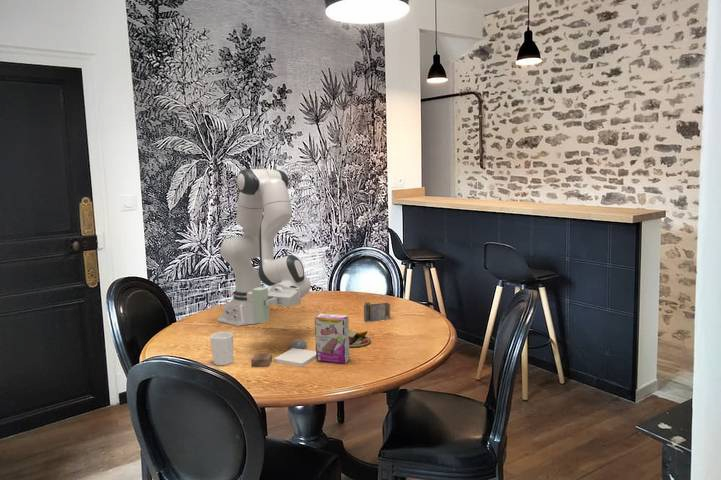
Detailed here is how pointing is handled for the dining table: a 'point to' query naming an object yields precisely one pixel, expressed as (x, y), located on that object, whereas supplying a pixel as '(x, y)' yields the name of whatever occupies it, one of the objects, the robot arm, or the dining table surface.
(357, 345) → the toy sandwich meal
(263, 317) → the sage block
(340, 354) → the candy bar box
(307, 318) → the dining table surface
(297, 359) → the plate
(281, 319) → the dining table surface
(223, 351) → the white cup
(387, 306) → the dark grey piece
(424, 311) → the dining table surface
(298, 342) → the grey domed disc
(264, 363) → the walnut block
